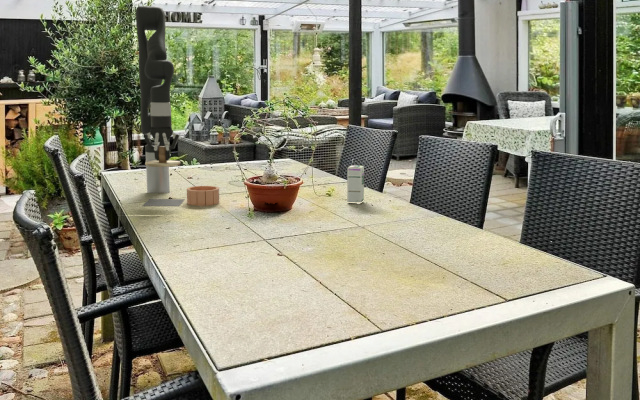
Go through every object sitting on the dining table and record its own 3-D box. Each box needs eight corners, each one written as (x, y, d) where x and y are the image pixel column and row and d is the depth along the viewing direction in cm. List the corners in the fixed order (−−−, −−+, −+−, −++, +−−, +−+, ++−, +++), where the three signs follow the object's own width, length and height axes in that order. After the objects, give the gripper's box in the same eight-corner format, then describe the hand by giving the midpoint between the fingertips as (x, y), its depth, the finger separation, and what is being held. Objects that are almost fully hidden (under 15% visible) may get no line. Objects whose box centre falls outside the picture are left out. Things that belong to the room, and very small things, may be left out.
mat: (149, 200, 254) (149, 199, 254) (185, 200, 255) (185, 199, 255) (141, 207, 241) (141, 206, 241) (179, 207, 241) (179, 206, 241)
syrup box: (361, 204, 250) (362, 167, 248) (346, 203, 251) (347, 166, 249) (363, 201, 256) (364, 165, 253) (349, 201, 257) (349, 165, 254)
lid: (149, 162, 251) (148, 144, 250) (182, 162, 252) (182, 144, 250) (141, 166, 238) (140, 148, 237) (177, 166, 239) (176, 148, 238)
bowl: (190, 200, 254) (189, 185, 253) (220, 200, 255) (220, 185, 254) (185, 206, 242) (184, 191, 241) (217, 206, 243) (217, 191, 242)
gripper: (181, 114, 246) (182, 159, 249) (144, 113, 245) (146, 158, 248) (178, 115, 238) (179, 161, 242) (139, 115, 237) (141, 161, 241)
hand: (162, 160), depth 245 cm, fingers closed on lid, 3 cm apart
